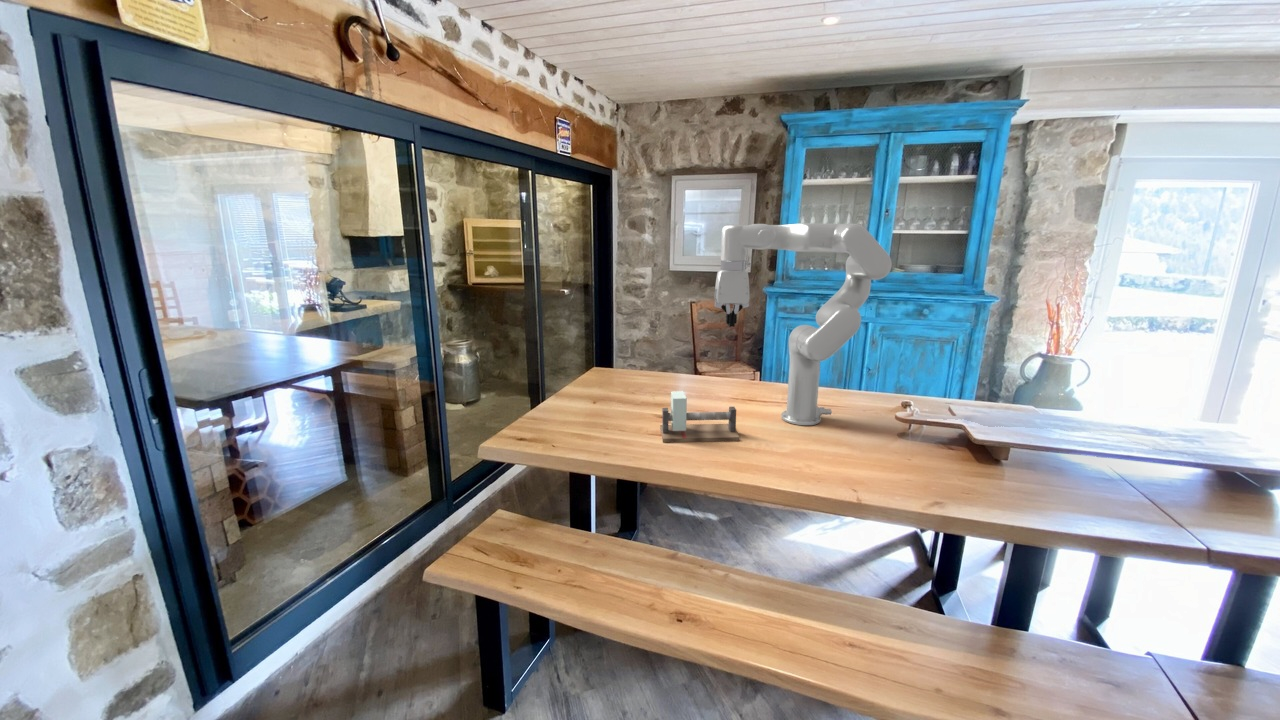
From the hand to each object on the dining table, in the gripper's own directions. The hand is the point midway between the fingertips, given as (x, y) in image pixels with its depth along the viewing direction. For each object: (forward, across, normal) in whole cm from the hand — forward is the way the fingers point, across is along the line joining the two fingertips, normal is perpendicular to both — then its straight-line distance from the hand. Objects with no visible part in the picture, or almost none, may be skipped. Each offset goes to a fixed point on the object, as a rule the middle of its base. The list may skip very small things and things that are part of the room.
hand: (731, 325), depth 157 cm
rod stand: (+32, +11, +10) cm, 35 cm away
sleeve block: (+29, +17, +10) cm, 35 cm away
